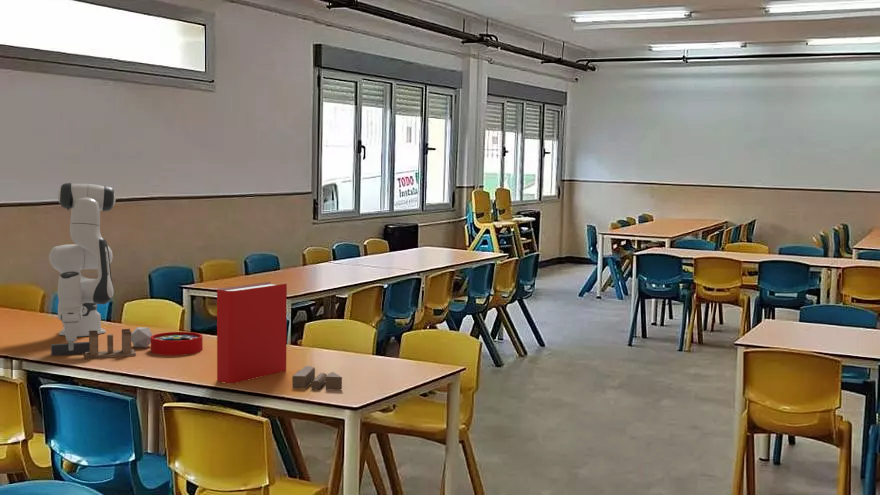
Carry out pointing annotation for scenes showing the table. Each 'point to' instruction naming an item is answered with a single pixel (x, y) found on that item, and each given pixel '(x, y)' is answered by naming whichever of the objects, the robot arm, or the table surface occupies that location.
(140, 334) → the die
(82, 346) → the frame bar
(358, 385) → the table surface
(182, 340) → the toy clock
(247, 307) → the book
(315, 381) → the wooden block set
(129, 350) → the stand
